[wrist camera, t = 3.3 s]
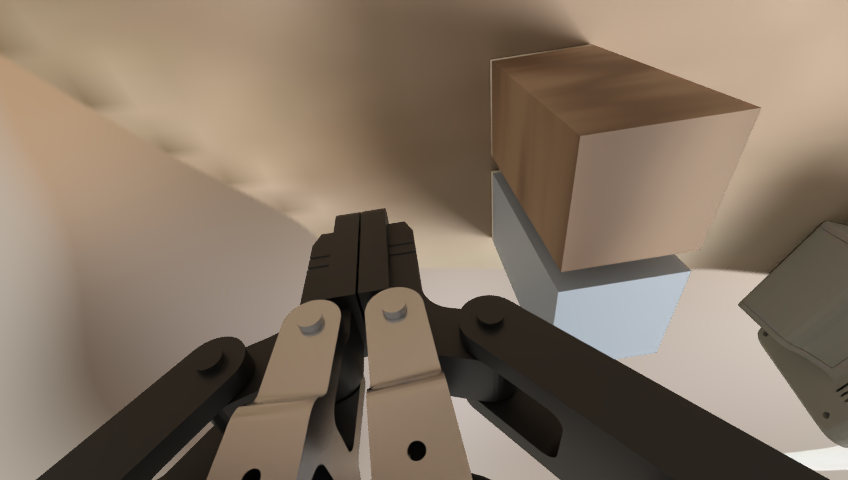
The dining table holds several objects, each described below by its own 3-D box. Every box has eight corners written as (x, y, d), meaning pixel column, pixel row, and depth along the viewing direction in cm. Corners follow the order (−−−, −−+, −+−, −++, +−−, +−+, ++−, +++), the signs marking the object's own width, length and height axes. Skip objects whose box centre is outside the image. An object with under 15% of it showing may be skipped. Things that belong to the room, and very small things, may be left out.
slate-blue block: (575, 157, 22) (691, 270, 14) (565, 226, 25) (656, 352, 17) (491, 170, 22) (558, 292, 14) (491, 238, 25) (547, 370, 17)
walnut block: (590, 44, 18) (761, 107, 10) (577, 141, 21) (700, 250, 13) (489, 59, 18) (580, 135, 10) (491, 154, 21) (560, 272, 13)
